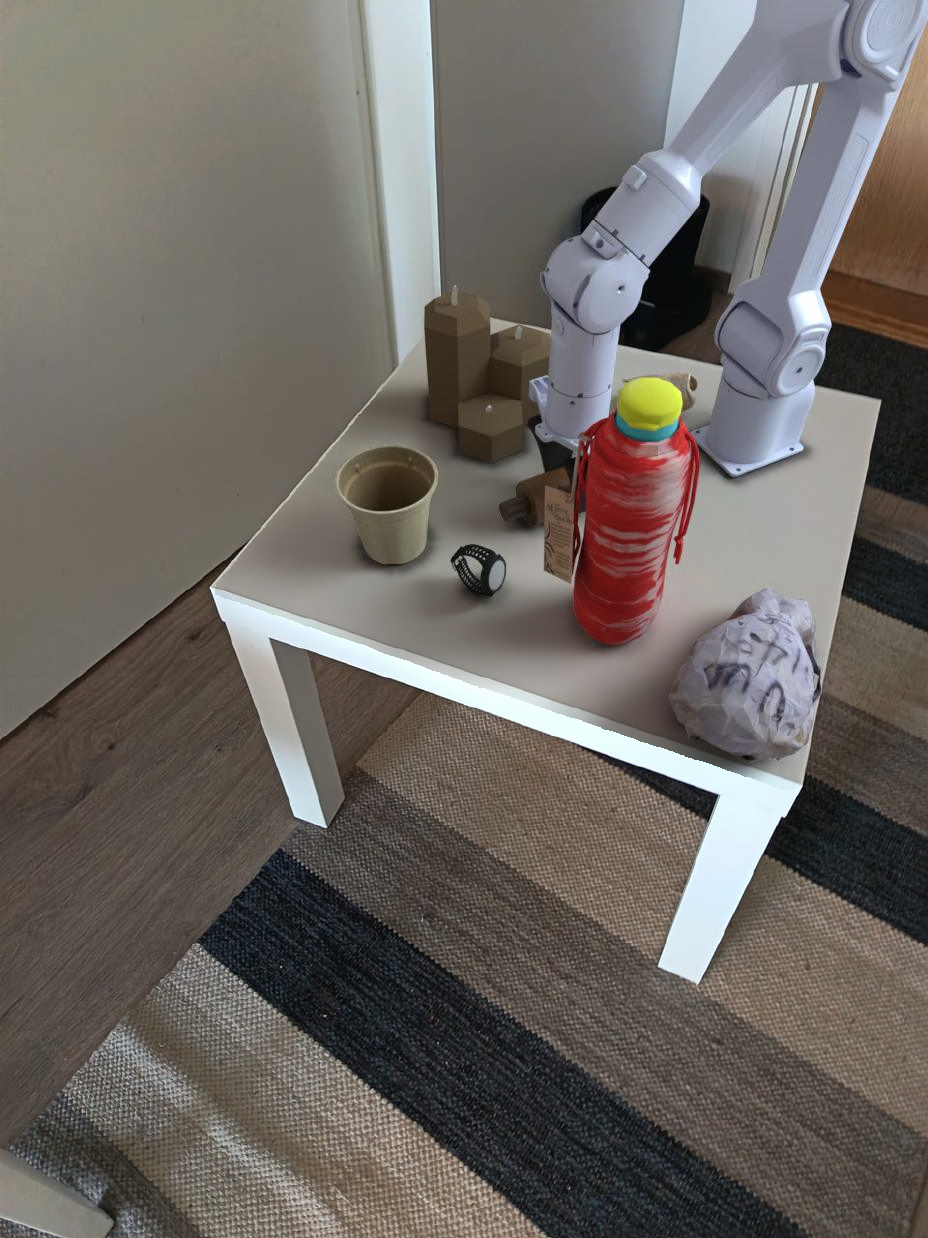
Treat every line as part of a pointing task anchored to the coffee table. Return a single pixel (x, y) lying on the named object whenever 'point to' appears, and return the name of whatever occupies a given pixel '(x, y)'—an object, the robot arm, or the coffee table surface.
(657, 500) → the water bottle
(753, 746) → the scribbled crumpled paper bundle
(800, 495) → the coffee table surface
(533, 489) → the rolling pin
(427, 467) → the flower pot
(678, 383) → the shell
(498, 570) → the smartwatch
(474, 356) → the candle
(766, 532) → the coffee table surface
